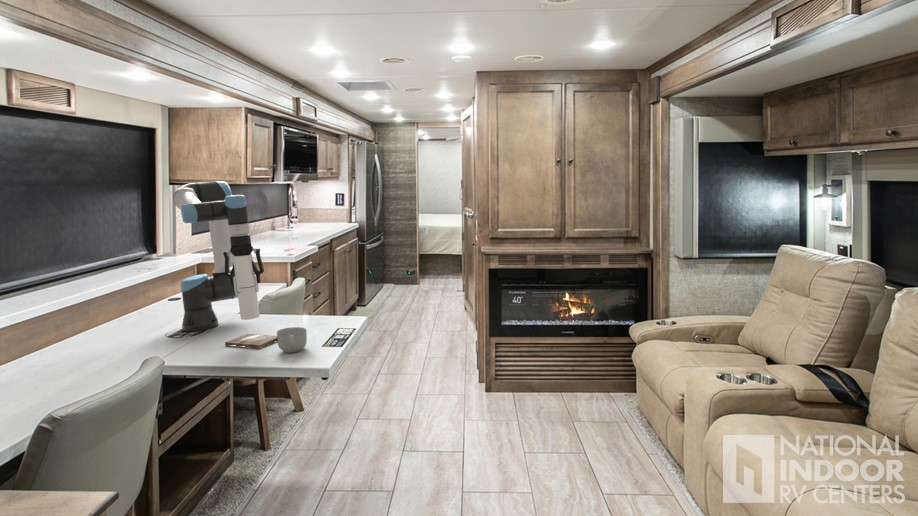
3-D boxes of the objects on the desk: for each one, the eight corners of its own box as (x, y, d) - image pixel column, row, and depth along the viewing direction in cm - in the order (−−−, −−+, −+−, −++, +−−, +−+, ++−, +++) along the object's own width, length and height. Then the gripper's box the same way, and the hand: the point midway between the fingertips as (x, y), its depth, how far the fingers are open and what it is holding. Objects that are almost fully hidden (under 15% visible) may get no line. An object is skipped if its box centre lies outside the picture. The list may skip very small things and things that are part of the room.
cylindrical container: (253, 319, 236) (245, 256, 232) (237, 319, 238) (229, 257, 234) (263, 314, 243) (255, 253, 239) (247, 315, 244) (239, 254, 241)
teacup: (282, 347, 233) (279, 327, 231) (310, 344, 233) (308, 324, 232) (274, 358, 219) (271, 337, 218) (304, 356, 220) (302, 334, 219)
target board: (225, 345, 240) (224, 341, 240) (247, 337, 251) (247, 333, 251) (259, 348, 233) (259, 344, 233) (281, 339, 243) (280, 335, 243)
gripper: (210, 238, 230) (218, 297, 233) (265, 233, 233) (272, 291, 237) (214, 236, 237) (222, 293, 241) (267, 231, 241) (274, 288, 244)
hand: (247, 292), depth 239 cm, fingers closed on cylindrical container, 7 cm apart
